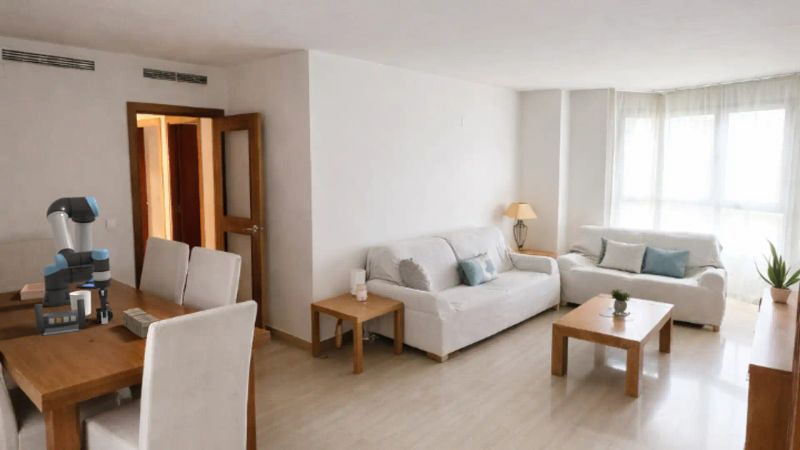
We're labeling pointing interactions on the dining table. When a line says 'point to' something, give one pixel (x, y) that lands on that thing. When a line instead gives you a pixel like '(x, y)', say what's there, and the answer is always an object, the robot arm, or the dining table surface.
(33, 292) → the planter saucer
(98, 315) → the black rounded block
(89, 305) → the candle holder
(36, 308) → the post
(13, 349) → the dining table surface
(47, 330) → the mat
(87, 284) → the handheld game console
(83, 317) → the post
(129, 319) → the block tower
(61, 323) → the breaker panel
